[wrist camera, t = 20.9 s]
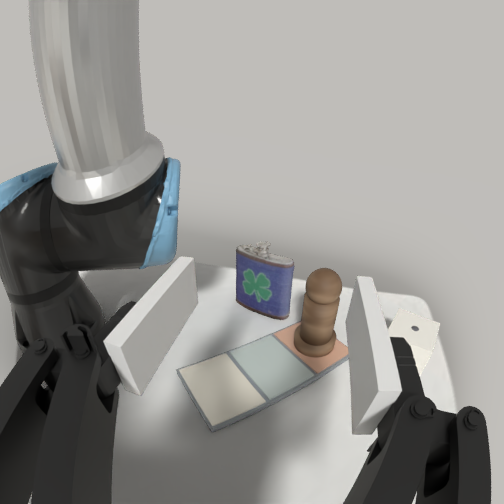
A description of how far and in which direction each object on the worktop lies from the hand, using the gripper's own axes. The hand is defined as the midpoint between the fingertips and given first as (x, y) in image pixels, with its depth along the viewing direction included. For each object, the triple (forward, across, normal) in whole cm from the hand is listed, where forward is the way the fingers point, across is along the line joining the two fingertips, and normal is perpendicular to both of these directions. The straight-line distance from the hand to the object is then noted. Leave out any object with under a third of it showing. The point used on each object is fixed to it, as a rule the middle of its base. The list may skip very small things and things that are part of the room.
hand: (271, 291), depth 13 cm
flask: (+22, -4, -18) cm, 29 cm away
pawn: (+15, +4, -17) cm, 23 cm away
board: (+10, -1, -18) cm, 20 cm away
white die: (+13, +16, -18) cm, 27 cm away
